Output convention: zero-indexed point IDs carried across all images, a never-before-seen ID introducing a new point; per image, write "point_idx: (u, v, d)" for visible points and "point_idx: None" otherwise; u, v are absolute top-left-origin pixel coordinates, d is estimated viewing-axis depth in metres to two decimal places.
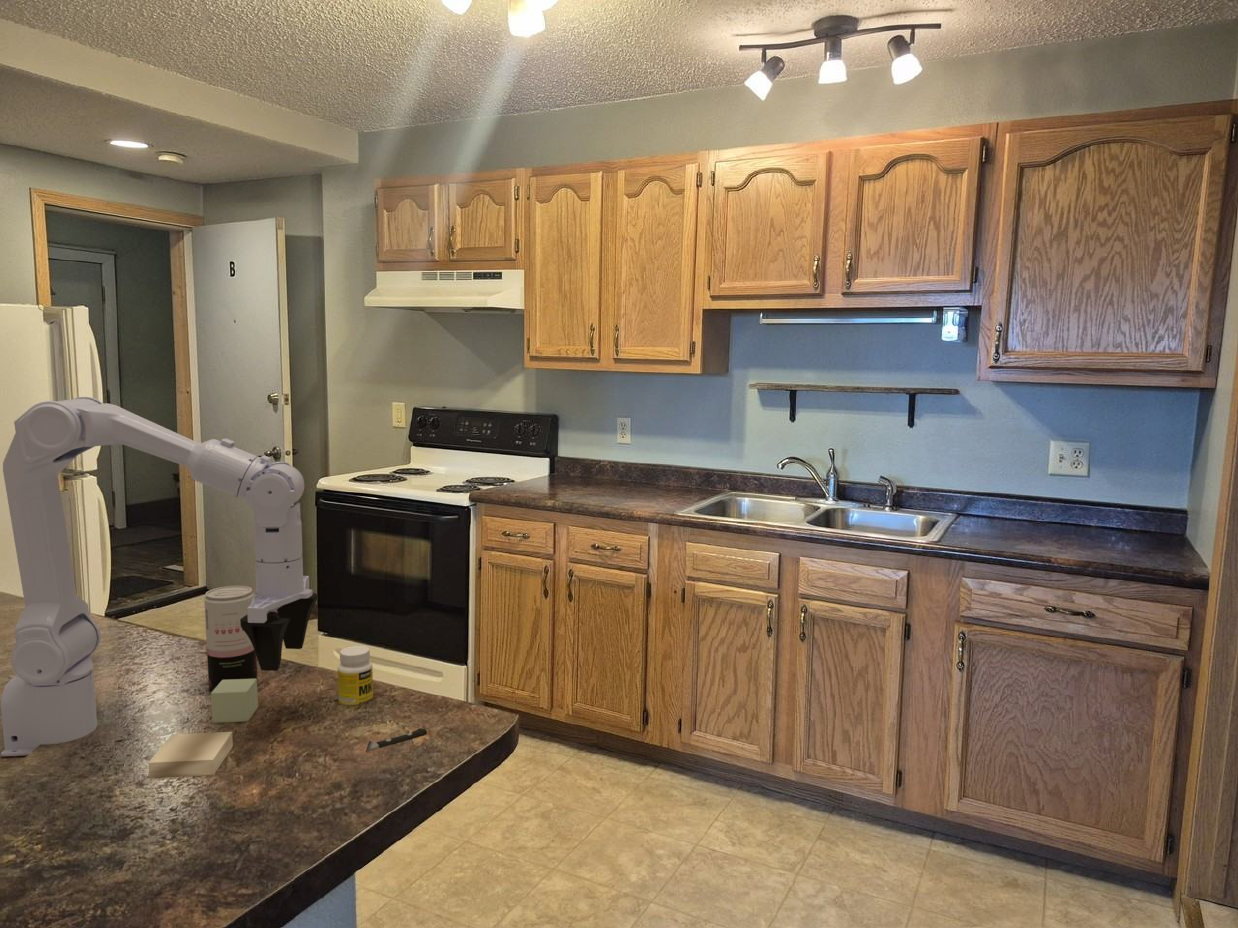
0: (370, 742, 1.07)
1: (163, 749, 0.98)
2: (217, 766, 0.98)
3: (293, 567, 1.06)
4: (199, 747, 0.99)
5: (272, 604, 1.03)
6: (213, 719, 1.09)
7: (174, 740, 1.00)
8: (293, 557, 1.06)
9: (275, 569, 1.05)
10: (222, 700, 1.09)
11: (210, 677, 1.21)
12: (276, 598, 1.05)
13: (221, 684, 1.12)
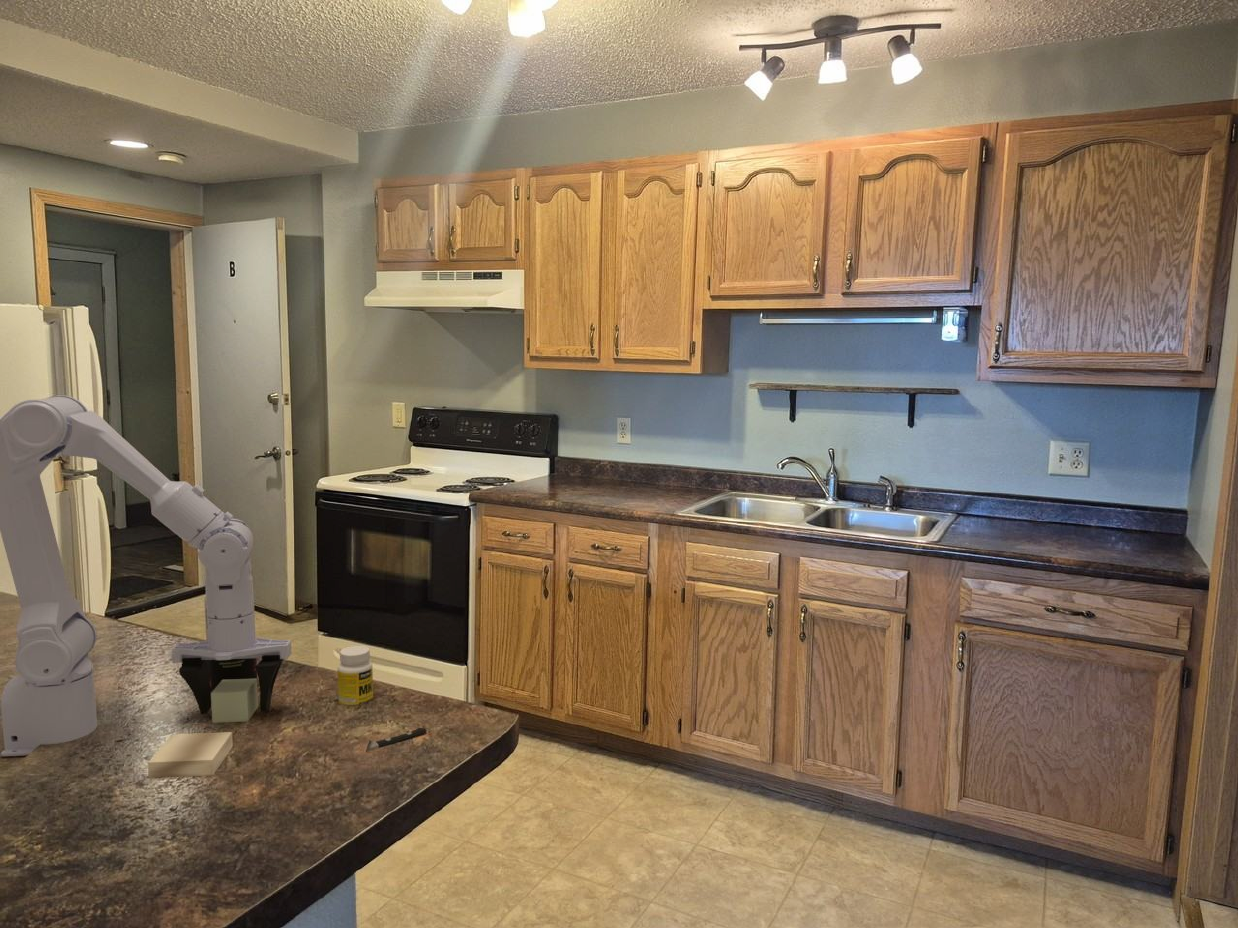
0: (370, 741, 1.07)
1: (163, 749, 0.98)
2: (216, 766, 0.98)
3: (213, 625, 1.08)
4: (199, 748, 0.99)
5: (186, 650, 1.09)
6: (213, 719, 1.09)
7: (174, 740, 1.00)
8: (246, 612, 1.09)
9: None
10: (223, 700, 1.09)
11: (210, 677, 1.21)
12: (207, 648, 1.10)
13: (221, 684, 1.12)
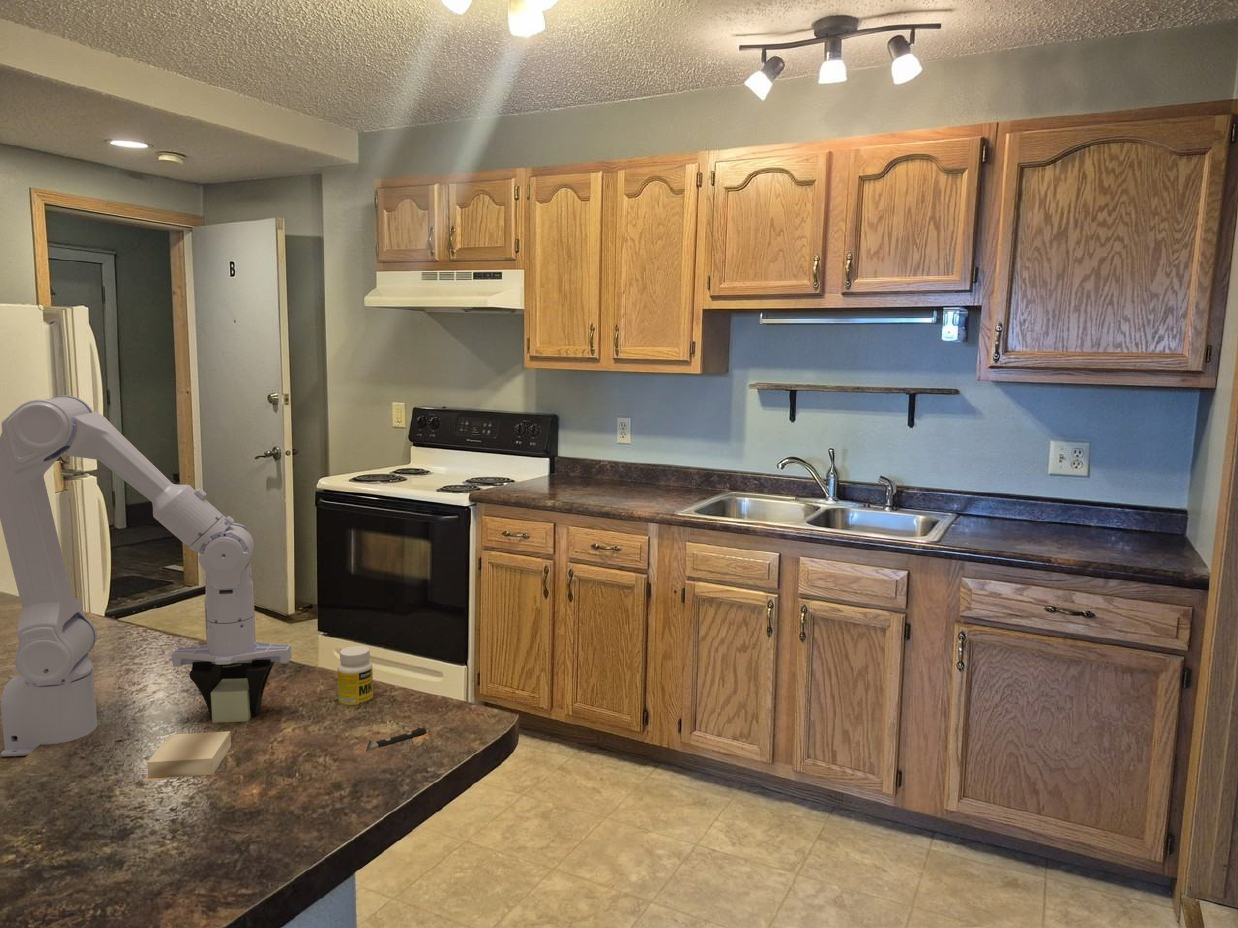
0: (369, 741, 1.07)
1: (162, 749, 0.98)
2: (216, 765, 0.98)
3: (213, 629, 1.08)
4: (198, 747, 0.99)
5: (186, 654, 1.09)
6: (213, 718, 1.09)
7: (172, 740, 1.00)
8: (246, 616, 1.09)
9: (207, 624, 1.09)
10: (222, 700, 1.09)
11: None
12: (207, 652, 1.10)
13: (221, 683, 1.12)
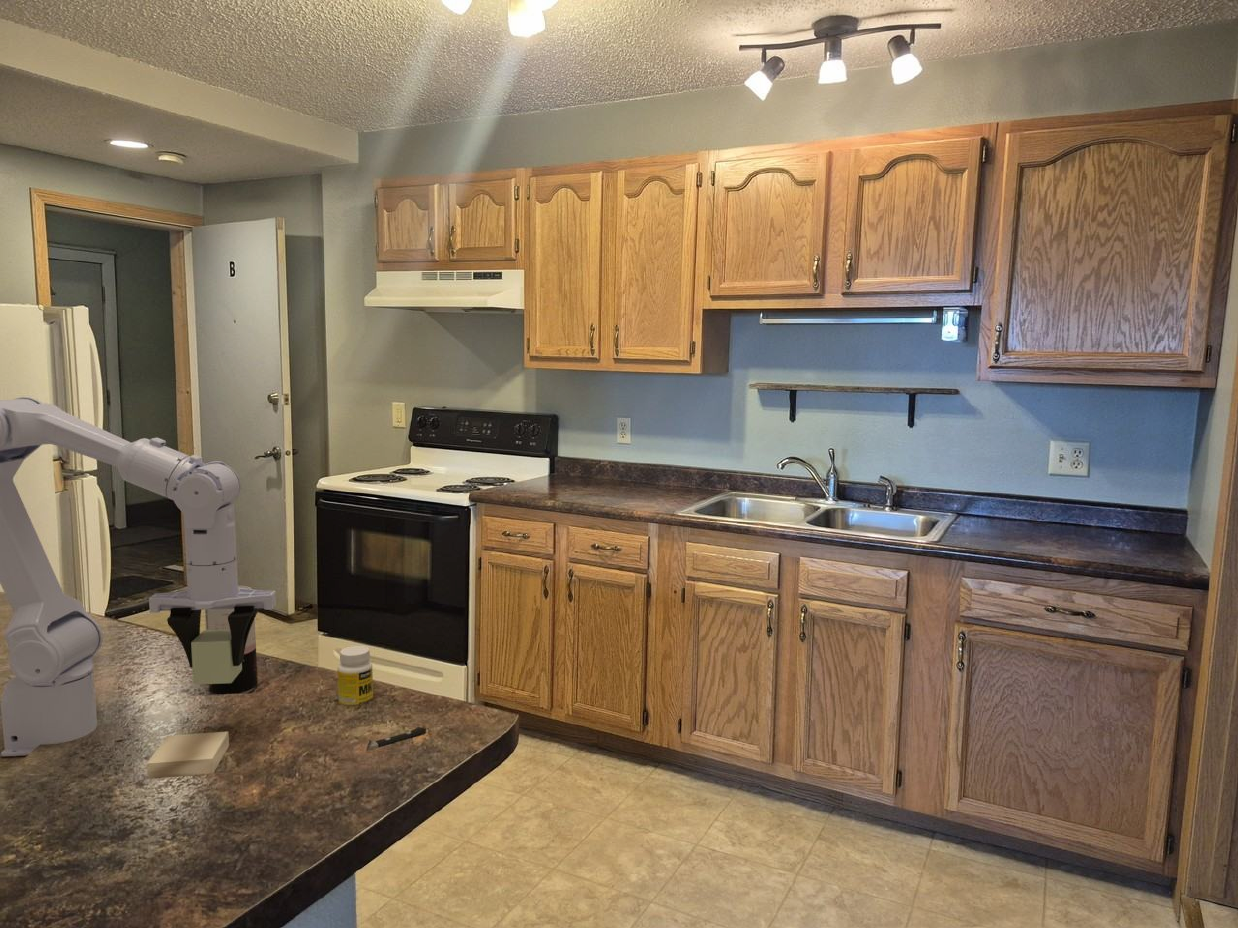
0: (369, 741, 1.07)
1: (160, 750, 0.98)
2: (216, 765, 0.98)
3: (193, 572, 1.02)
4: (197, 747, 0.99)
5: (164, 599, 1.03)
6: (194, 670, 1.04)
7: (170, 741, 1.00)
8: (223, 560, 1.02)
9: (186, 568, 1.03)
10: (204, 650, 1.03)
11: None
12: (186, 597, 1.04)
13: (202, 634, 1.06)
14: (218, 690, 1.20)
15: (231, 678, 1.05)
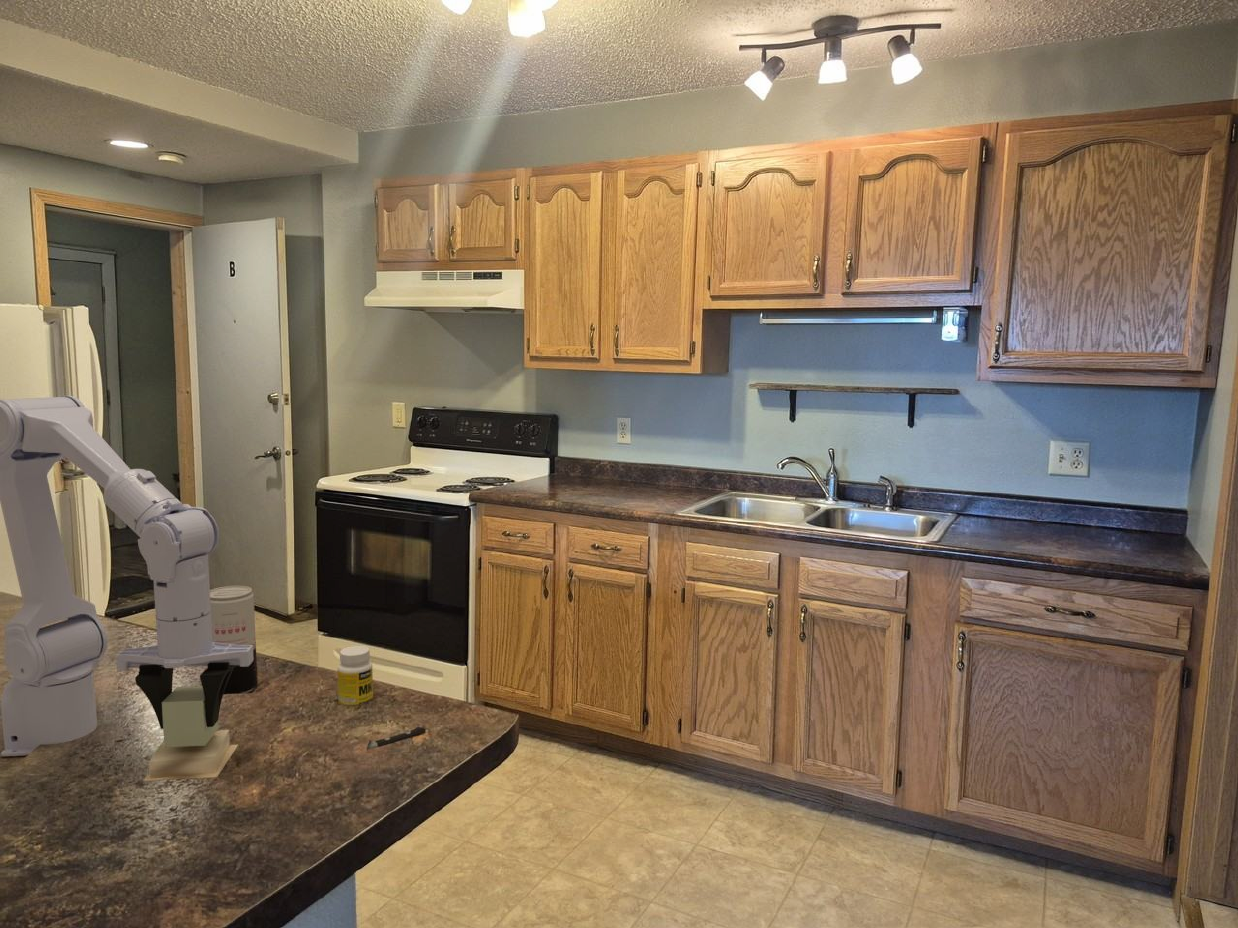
0: (369, 741, 1.08)
1: (161, 748, 0.98)
2: (218, 763, 0.98)
3: (162, 627, 0.94)
4: None
5: (132, 656, 0.95)
6: (165, 732, 0.96)
7: None
8: (185, 616, 0.94)
9: None
10: (175, 710, 0.96)
11: None
12: (156, 654, 0.96)
13: (175, 692, 0.99)
14: None
15: (205, 740, 0.97)
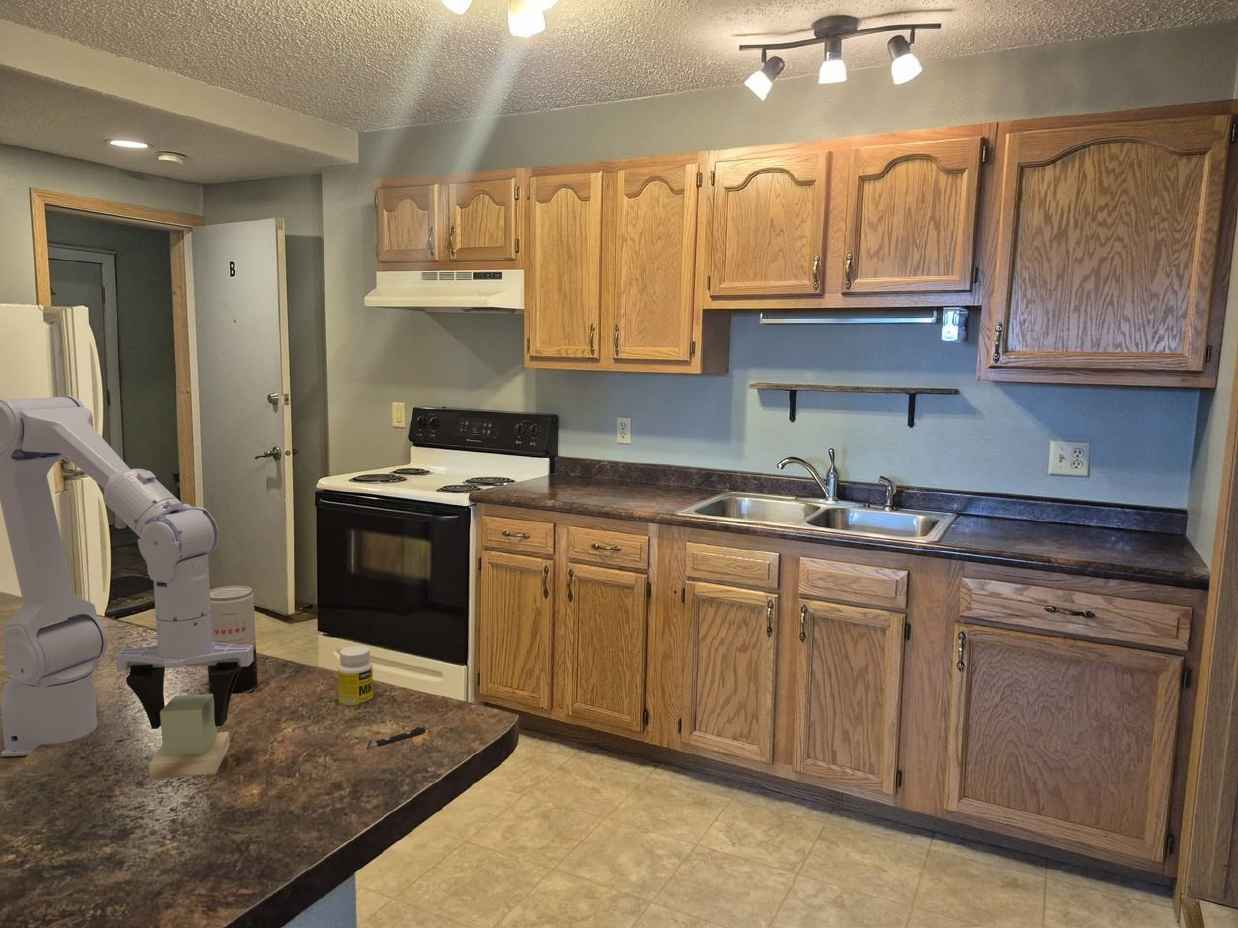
0: (369, 741, 1.08)
1: (162, 751, 0.98)
2: (218, 765, 0.98)
3: (162, 627, 0.94)
4: None
5: (132, 656, 0.95)
6: (163, 741, 0.96)
7: None
8: (185, 616, 0.94)
9: None
10: (174, 720, 0.96)
11: None
12: (156, 654, 0.96)
13: (173, 701, 0.99)
14: None
15: (204, 749, 0.97)
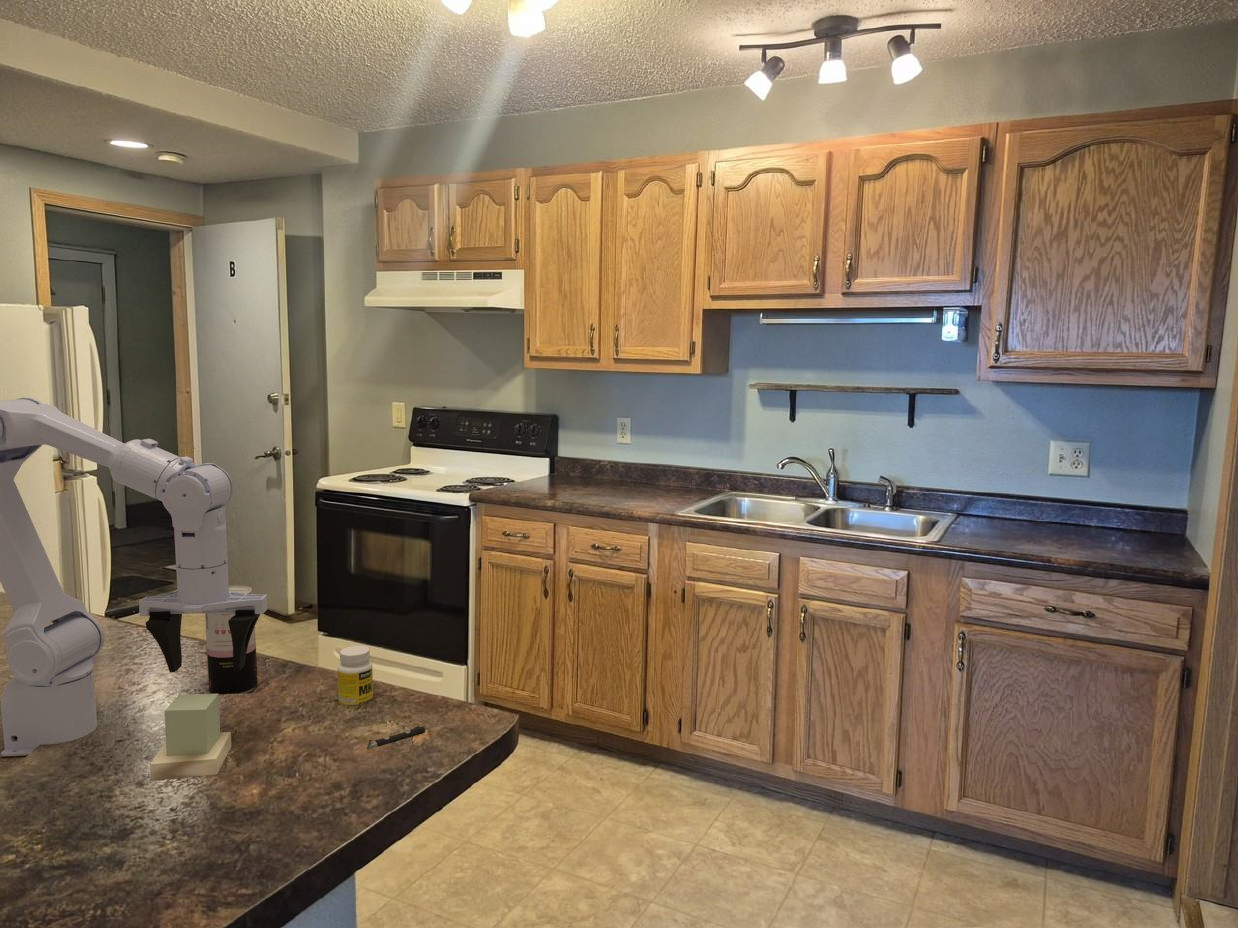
0: (369, 740, 1.08)
1: (163, 750, 0.98)
2: (219, 765, 0.98)
3: (182, 575, 1.00)
4: None
5: (154, 602, 1.01)
6: (167, 740, 0.96)
7: None
8: (212, 564, 1.01)
9: (176, 571, 1.02)
10: (178, 719, 0.96)
11: (210, 677, 1.21)
12: (176, 601, 1.02)
13: (177, 700, 0.99)
14: (218, 690, 1.20)
15: (207, 748, 0.97)
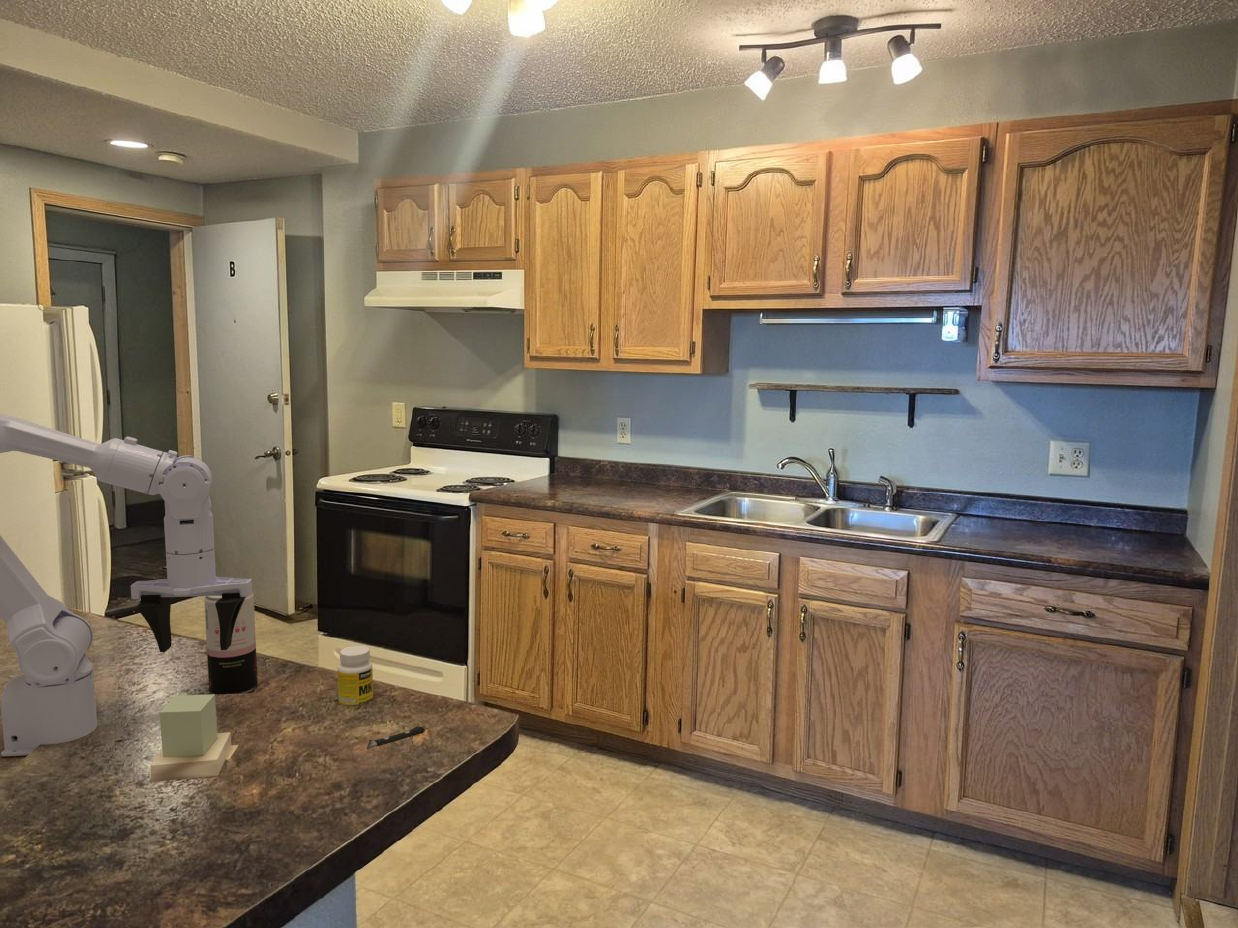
0: (369, 740, 1.08)
1: None
2: (220, 766, 0.97)
3: (172, 560, 1.07)
4: None
5: (145, 586, 1.08)
6: (163, 742, 0.96)
7: None
8: (208, 547, 1.08)
9: None
10: (173, 720, 0.96)
11: (210, 677, 1.21)
12: (166, 585, 1.09)
13: (173, 701, 0.98)
14: (218, 690, 1.20)
15: (203, 750, 0.97)
